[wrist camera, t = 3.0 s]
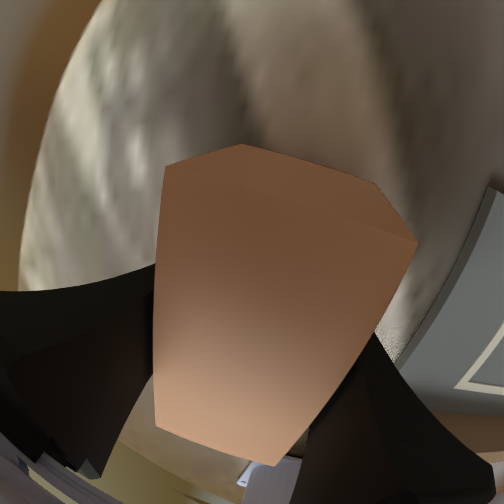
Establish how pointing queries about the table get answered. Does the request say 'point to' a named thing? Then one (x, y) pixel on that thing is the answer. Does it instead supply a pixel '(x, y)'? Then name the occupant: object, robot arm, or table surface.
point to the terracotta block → (265, 294)
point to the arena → (466, 341)
